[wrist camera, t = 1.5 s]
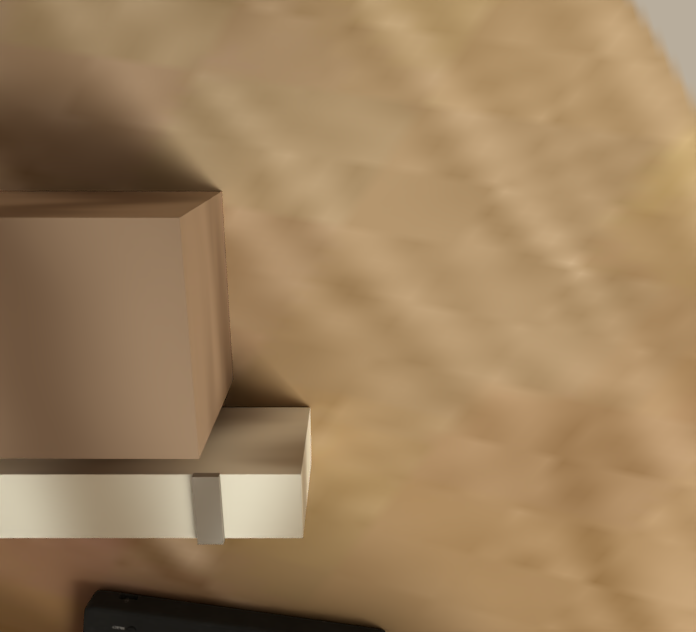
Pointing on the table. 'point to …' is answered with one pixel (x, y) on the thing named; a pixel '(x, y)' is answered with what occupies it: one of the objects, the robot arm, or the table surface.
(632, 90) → the table surface
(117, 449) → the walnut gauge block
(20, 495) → the rail
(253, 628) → the handheld gaming console
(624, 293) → the table surface
